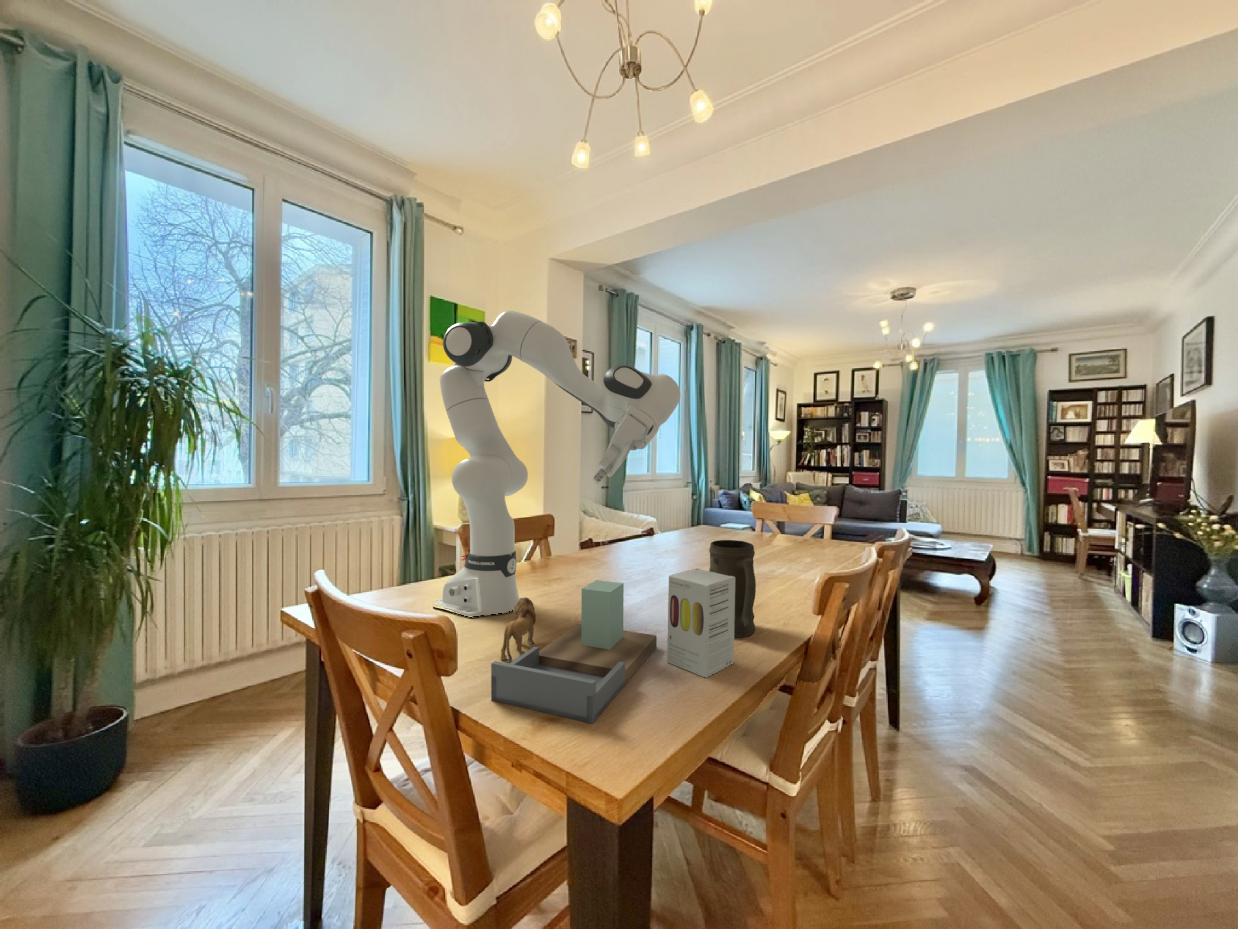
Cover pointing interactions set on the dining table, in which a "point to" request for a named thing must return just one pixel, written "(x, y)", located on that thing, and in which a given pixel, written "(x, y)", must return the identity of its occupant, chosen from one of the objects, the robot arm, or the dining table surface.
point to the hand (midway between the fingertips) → (598, 474)
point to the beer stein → (737, 579)
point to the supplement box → (701, 621)
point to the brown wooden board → (598, 653)
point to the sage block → (602, 614)
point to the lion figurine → (519, 627)
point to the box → (554, 687)
